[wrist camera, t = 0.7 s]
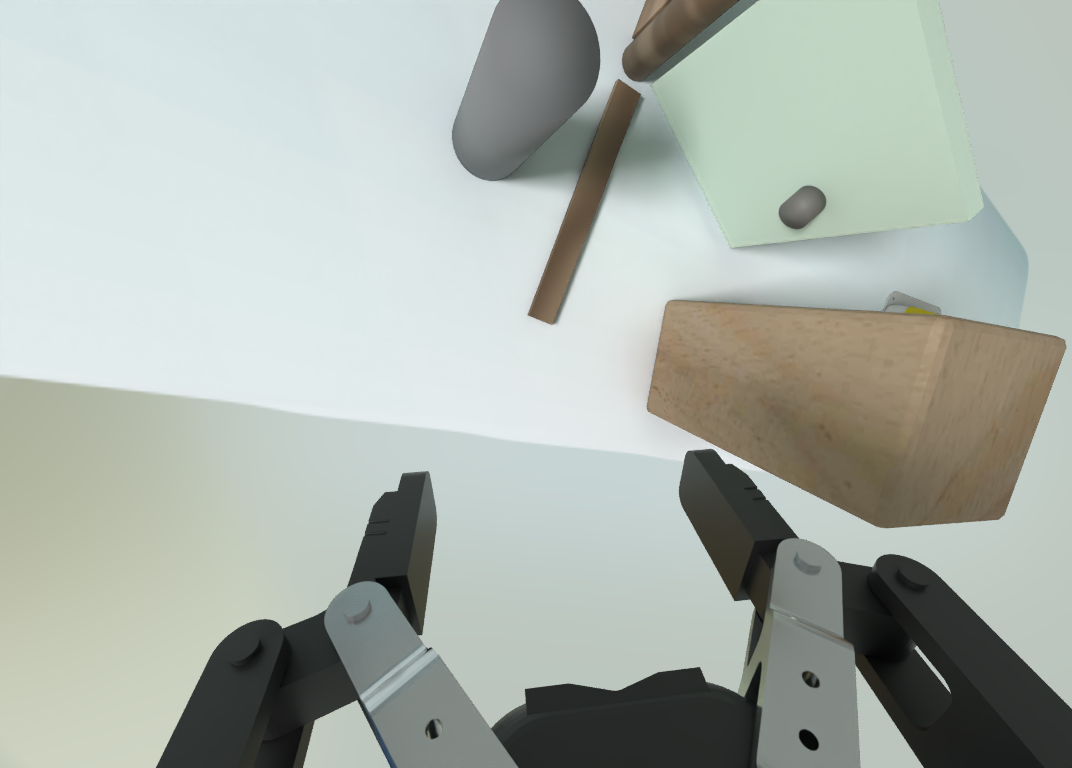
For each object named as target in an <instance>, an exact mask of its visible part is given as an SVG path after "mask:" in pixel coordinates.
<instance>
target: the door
mask: <svg viewBox="0 0 1072 768" xmlns="http://www.w3.org/2000/svg"><path fill="white" fill-rule="evenodd" d="M650 86H651V88H652V90H653V92H654V94H655V96H656V98H657V100H658V102H659V104H660V106H661V108H662V110H663V112H664V114H665V116H666V118H667V120H668V122H669V124H670V126H671V128H672V130H673V133H674V135H675V137H676V139H677V141H678V143H679V145H680V147H681V149H682V151H683V153H684V155H685V157H686V159H687V161H688V163H689V165H690V167H691V169H692V171H693V173H694V175H695V177H696V179H697V181H698V183H699V185H700V187H701V189H702V191H703V193H704V196H705V198H706V200H707V202H708V204H709V206H710V208H711V210H712V212H713V214H714V216H715V218H716V220H717V222H718V224H719V226H720V228H721V230H722V232H723V234H724V236H725V238H726V240H727V242H728V244H729V246H730V248H734V247H744V246H753V245H762V244H771V243H780V242H789V241H798V240H807V239H816V238H825V237H834V236H844V235H853V234H862V233H871V232H880V231H889V230H898V229H907V228H916V227H925V226H934V225H944V224H953V223H962V222H969V221H970V220H971V219H972V218H973V217H974V216H975V215H976V214H977V213H978V212H979V211H980V210H981V209H982V208H984V204H983V199H982V195H981V190H980V186H979V181H978V177H977V172H976V168H975V163H974V159H973V154H972V150H971V145H970V141H969V136H968V131H967V127H966V122H965V118H964V113H963V108H962V104H961V100H960V95H959V91H958V86H957V81H956V77H955V73H954V68H953V63H952V59H951V54H950V49H949V45H948V41H947V36H946V31H945V27H944V22H943V18H942V14H941V9H940V4H939V0H758V1H757V2H756V3H754V4H753V5H752V6H751V7H749V8H748V9H747V10H746V11H744V12H743V13H742V14H740V15H739V16H738V17H737V18H735V19H734V20H733V21H731V22H730V23H729V24H728V25H726V26H725V27H724V28H723V29H721V30H720V31H719V32H717V33H716V34H715V35H714V36H712V37H711V38H710V39H709V40H707V41H706V42H705V43H703V44H702V45H701V46H700V47H698V48H697V49H696V50H695V51H693V52H692V53H691V54H689V55H688V56H687V57H686V58H684V59H683V60H682V61H680V62H679V63H678V64H677V65H675V66H674V67H673V68H672V69H670V70H669V71H668V72H666V73H665V74H664V75H663V76H661V77H660V78H659V79H658V80H656V81H655V82H654V83H653V84H651V85H650Z"/></svg>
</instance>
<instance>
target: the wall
mask: <svg viewBox="0 0 1072 768" xmlns="http://www.w3.org/2000/svg"><path fill="white" fill-rule="evenodd" d="M738 1H739V0H646V2H645V5H644V7H643V10H642V13H641V15H640V18H639V21H638V23H637V26H636V29H635V31H634V34H633V37H632V38H633V39H634V40H633V42H632V43H631V44H630V45H629V46H628V47H627V48H626V49H625V51H624V53H623V57H622V65H623V69H624V71H625V73H626V75H627V76H628V77H629V78H630V79H632V80H634V81H642V80H644V79H645V78H646V77H647V76H649V75H650V74H651V73H652V72H653V71H655V70H656V69H657V68H658V67H659V66H661V65H662V64H663V63H664V62H665V61H667V60H668V59H669V58H670V57H672V56H673V55H674V54H675V53H676V52H678V51H679V50H680V49H681V48H682V47H684V46H685V45H686V44H687V43H688V42H690V41H691V40H692V39H693V38H694V37H696V36H697V35H698V34H699V33H701V32H702V31H703V30H704V29H705V28H707V27H708V26H709V25H710V24H711V23H713V22H714V21H715V20H716V19H717V18H719V17H720V16H721V15H722V14H723V13H725V12H726V11H727V10H728V9H729V8H731V7H732V6H733V5H734V4H736V3H737V2H738ZM640 95H641V94H640V93H638V92H637V91H635V90H634V89H632V88H631V87H630V86H628V85H627V84H625V83H624V82H622V81H621V80H620V79H618V80H617V81H616V82H615V84H614V87H613V90H612V92H611V95H610V98H609V100H608V103H607V106H606V108H605V111H604V114H603V116H602V119H601V122H600V124H599V127H598V130H597V132H596V135H595V138H594V140H593V143H592V146H591V148H590V151H589V154H588V156H587V159H586V161H585V164H584V167H583V169H582V172H581V175H580V177H579V180H578V183H577V185H576V188H575V191H574V193H573V196H572V199H571V201H570V204H569V207H568V209H567V212H566V215H565V217H564V220H563V223H562V225H561V228H560V231H559V233H558V236H557V239H556V241H555V244H554V246H553V249H552V252H551V254H550V257H549V260H548V262H547V265H546V268H545V270H544V273H543V276H542V278H541V281H540V284H539V286H538V289H537V292H536V294H535V297H534V300H533V302H532V305H531V308H530V310H529V313H528V315H529V316H531V317H534V318H536V319H538V320H541V321H543V322H546V323H548V324H551V325H552V324H553V322H554V319H555V317H556V314H557V311H558V309H559V306H560V304H561V301H562V298H563V296H564V293H565V290H566V288H567V285H568V283H569V280H570V277H571V275H572V272H573V270H574V267H575V264H576V262H577V259H578V257H579V254H580V251H581V249H582V246H583V244H584V241H585V238H586V236H587V233H588V231H589V228H590V225H591V223H592V220H593V217H594V215H595V212H596V210H597V207H598V204H599V202H600V199H601V197H602V194H603V191H604V189H605V186H606V184H607V181H608V178H609V176H610V173H611V171H612V168H613V165H614V163H615V160H616V158H617V155H618V152H619V150H620V147H621V144H622V142H623V139H624V137H625V134H626V131H627V129H628V126H629V124H630V121H631V118H632V116H633V113H634V111H635V108H636V105H637V103H638V100H639V98H640Z"/></svg>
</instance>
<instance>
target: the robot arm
mask: <svg viewBox="0 0 1072 768" xmlns="http://www.w3.org/2000/svg"><path fill="white" fill-rule="evenodd" d="M679 497H680V501H681V505H682V507H683V509H684V511H685V512H686V514H687V516H688V518H689V520H690V521H691V523H692V525H693V527H694V529H695V530H696V532H697V534H698V536H699V538H700V539H701V541H702V543H703V545H704V547H705V549H706V550H707V552H708V554H709V556H710V557H711V559H712V561H713V563H714V565H715V567H716V568H717V570H718V572H719V573H720V576H721V577H722V579H723V581H724V583H725V584H726V586H727V588H728V590H729V592H730V594H731V595H732V597H733V599H734V601H741V600H749V599H750V600H751V601H752V603H753V605H754V607H755V609H754V611H753V615H752V620H751V627H750V633H749V639H748V645H747V651H746V657H745V663H744V669H743V675H742V679H741V683H740V687H739V690H738V694H737V693H735V692H733V691H731V690H729V689H726V688H724V687H722V686H719V685H715V684H712V683H708V682H706V681H705V678H704V676H703V673H702V671H701V669H700V667H697V668H689V669H681V670H674V671H665V672H658V673H656V674H654V675H652V676H649V677H647V678H645V679H643V680H641V681H639V682H636V683H634V684H632V685H630V686H628V687H626V688H624V689H622V690H618V691H611V690H605V689H599V688H593V687H587V686H581V685H575V684H561V685H553V686H545V687H538V688H530V689H525V696H526V704H523V705H521V706H519V707H518V708H515V709H514V710H512V711H511V712H509V713H508V714H506V715H505V716H504V717H503V718H501V719H500V720H499V721H498V722H497V723H496V724H495V725H494V726H493V727H492V728H490V727H489V725H488V724H487V723H486V721H485V720H484V718H483V717H482V715H481V714H480V713H479V711H478V710H477V708H476V707H475V706H474V704H473V703H472V701H471V700H470V698H469V697H468V696H467V694H466V693H465V692H464V690H463V689H462V687H461V686H460V684H459V683H458V681H457V680H456V679H455V678H454V676H453V674H452V673H451V672H450V670H449V669H448V667H447V666H446V664H445V663H444V662H443V660H442V659H441V657H440V656H439V655H438V654H437V653H436V651H435V650H434V649H433V648H429V649H428V648H427V647H426V646H425V645H424V644H423V643H422V641H421V639H420V638H419V637H418V635H422V632H423V625H424V618H425V610H426V603H427V595H428V588H429V580H430V573H431V565H432V558H433V550H434V543H435V535H436V526H437V515H436V506H435V501H434V495H433V489H432V484H431V479H430V474H429V472H428V471H426V472H414V473H403V474H402V477H401V480H400V484H399V488H398V491H395V492H385V493H384V494H383V495H382V496H381V498H380V499H379V500H378V501H377V502H376V503H375V505H374V506H373V509H372V512H371V515H370V518H369V524H368V525H367V528H366V531H365V536H364V537H363V540H362V543H361V546H360V549H359V552H358V556H357V559H356V562H355V565H354V568H353V571H352V574H351V577H350V581H349V584H348V586H347V588H346V589H344V590H343V591H341V592H340V593H339V594H338V595H337V596H336V597H335V598H334V599H333V600H332V601H331V603H330V605H329V606H328V608H327V609H326V610H325V611H323V612H322V613H320V614H318V615H316V616H314V617H311V618H309V619H306V620H304V621H301V622H299V623H296V624H293V625H291V626H288V627H286V628H283V629H282V627H281V626H280V625H279V624H278V623H277V622H275V621H273V620H267V619H263V620H256V621H253V622H250V623H247V624H245V625H243V626H241V627H239V628H238V629H236V630H235V631H234V632H232V633H231V634H229V635H228V636H227V637H226V638H225V639H224V640H223V641H222V642H221V643H220V644H219V645H218V646H217V648H216V649H215V650H214V652H213V653H212V655H211V657H210V659H209V661H208V663H207V665H206V667H205V669H204V671H203V673H202V675H201V677H200V679H199V681H198V683H197V685H196V687H195V689H194V691H193V693H192V696H191V697H190V700H189V701H188V704H187V706H186V708H185V710H184V712H183V714H182V716H181V718H180V720H179V722H178V724H177V726H176V728H175V730H174V732H173V734H172V736H171V738H170V740H169V742H168V744H167V747H166V748H165V750H164V752H163V755H162V757H161V759H160V761H159V763H158V765H157V767H156V768H303V765H304V761H305V757H306V753H307V749H308V745H309V741H310V737H311V733H312V729H313V725H314V721H315V720H316V719H318V718H320V717H322V716H325V715H327V714H329V713H331V712H333V711H335V710H337V709H339V708H341V707H343V706H345V705H347V704H350V703H351V702H354V701H356V700H357V701H358V703H359V705H360V707H361V709H362V711H363V713H364V715H365V717H366V719H367V721H368V723H369V725H370V727H371V729H372V731H373V733H374V735H375V737H376V739H377V741H378V743H379V745H380V747H381V749H382V751H383V753H384V755H385V757H386V759H387V761H388V763H389V765H390V768H860V751H859V730H858V711H857V691H856V673H855V672H856V671H855V665H856V666H857V668H858V669H859V671H860V672H861V674H862V675H863V677H864V678H865V680H866V681H867V683H868V684H869V686H870V687H871V689H872V690H873V692H874V693H875V695H876V696H877V698H878V699H879V701H880V702H881V704H882V705H883V707H884V708H885V710H886V711H887V713H888V714H889V716H890V717H891V719H892V720H893V722H894V723H895V725H896V726H897V728H898V729H899V731H900V732H901V734H902V735H903V737H904V738H905V739H906V741H907V743H908V744H909V746H910V747H911V749H912V750H913V752H914V753H915V755H916V756H917V758H918V759H919V761H920V762H921V764H922V765H923V767H924V768H1072V709H1071V708H1070V707H1069V706H1068V705H1067V704H1066V703H1065V702H1064V701H1063V700H1062V699H1061V698H1060V697H1059V696H1058V695H1057V694H1056V693H1055V692H1054V691H1053V690H1052V689H1051V688H1050V687H1049V686H1048V685H1047V684H1046V683H1045V682H1044V681H1043V680H1042V679H1041V678H1040V677H1039V676H1038V675H1037V674H1036V673H1035V672H1034V671H1033V670H1032V669H1031V668H1030V667H1029V666H1028V665H1027V664H1026V663H1025V662H1024V661H1023V660H1022V659H1021V658H1020V657H1019V656H1018V655H1017V654H1016V653H1015V652H1014V651H1013V650H1012V649H1011V648H1010V647H1009V646H1008V645H1007V644H1006V643H1005V642H1004V641H1003V640H1002V639H1001V638H1000V637H999V636H998V635H997V634H996V633H995V632H994V631H993V630H992V629H991V628H990V627H989V626H988V625H987V624H986V623H985V622H984V621H983V620H982V619H981V618H980V617H979V616H978V615H977V614H976V613H975V612H974V611H973V610H972V609H971V608H970V607H969V606H968V605H967V604H966V603H965V602H964V601H963V600H962V599H961V598H960V597H959V596H958V595H957V594H956V593H955V592H954V591H953V590H952V589H951V588H950V587H949V586H948V585H947V584H946V583H945V582H944V581H943V580H942V579H941V578H940V577H939V576H938V575H937V574H936V573H935V572H933V571H932V570H931V569H929V568H928V567H926V566H925V565H923V564H921V563H919V562H917V561H915V560H913V559H910V558H907V557H904V556H900V555H894V554H888V555H883V556H881V557H879V558H878V559H877V561H876V563H875V564H874V566H873V567H868V566H862V565H856V564H850V563H844V562H839V561H837V560H836V559H835V558H834V557H833V556H832V555H831V554H830V553H829V552H828V551H826V550H825V549H824V548H822V547H821V546H819V545H817V544H815V543H812V542H810V541H807V540H803V539H799V538H798V537H797V535H796V534H795V533H794V532H793V530H792V529H791V528H790V527H789V526H788V524H787V523H786V522H785V521H784V519H783V518H782V517H781V516H780V514H779V513H778V512H777V511H776V510H775V508H774V507H773V506H772V505H771V503H770V502H769V501H768V500H766V497H765V496H764V495H763V494H762V492H761V491H760V490H758V489H757V486H756V485H755V484H754V482H753V481H752V480H751V479H750V478H749V476H748V475H747V474H745V473H744V472H743V471H741V470H740V469H738V468H737V467H735V466H734V465H733V464H725V463H724V461H723V460H722V459H721V458H720V456H719V455H718V454H717V452H716V451H715V450H713V449H706V450H693V451H688V452H687V453H686V455H685V460H684V466H683V470H682V476H681V481H680V486H679ZM916 646H918V647H919V649H920V650H921V651H922V652H923V654H924V655H925V656H926V657H927V658H928V660H929V661H930V662H931V663H932V665H933V666H934V667H935V668H936V669H937V671H938V672H939V673H940V674H941V676H942V677H943V678H944V680H945V681H946V683H947V685H948V687H949V689H950V692H951V694H950V692H949V691H948V690H947V689H946V687H945V686H944V685H943V684H942V683H941V681H940V680H939V679H938V677H937V676H936V675H935V674H934V672H933V671H932V670H931V669H930V668H929V666H928V665H927V664H926V662H925V661H924V660H923V659H922V657H920V655H919V654H918V653H917V651H916V650H915V649H914V648H915V647H916Z"/></svg>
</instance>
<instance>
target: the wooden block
mask: <svg viewBox="0 0 1072 768" xmlns="http://www.w3.org/2000/svg"><path fill="white" fill-rule="evenodd" d="M1065 350H1066V344H1065V340H1064V339H1061V338H1059V337H1057V336H1052V335H1047V334H1041V333H1036V332H1031V331H1026V330H1020V329H1015V328H1010V327H1004V326H999V325H994V324H988V323H983V322H978V321H972V320H967V319H962V318H956V317H951V316H945V315H933V314H915V313H897V312H879V311H861V310H843V309H825V308H808V307H790V306H772V305H754V304H736V303H718V302H700V301H682V300H671V301H668V302H667V304H666V306H665V312H664V317H663V323H662V328H661V333H660V339H659V344H658V349H657V355H656V360H655V366H654V371H653V376H652V382H651V387H650V392H649V398H648V403H647V410H648V412H650V413H652V414H654V415H656V416H658V417H660V418H662V419H664V420H666V421H668V422H670V423H672V424H674V425H676V426H678V427H680V428H682V429H684V430H686V431H688V432H690V433H692V434H694V435H696V436H698V437H700V438H702V439H704V440H706V441H708V442H710V443H712V444H714V445H715V446H717V447H719V448H721V449H723V450H725V451H727V452H729V453H731V454H733V455H735V456H737V457H739V458H741V459H743V460H745V461H747V462H749V463H751V464H753V465H755V466H757V467H759V468H761V469H763V470H765V471H767V472H769V473H771V474H773V475H775V476H777V477H779V478H781V479H783V480H785V481H787V482H789V483H791V484H793V485H795V486H797V487H799V488H801V489H803V490H805V491H807V492H809V493H811V494H813V495H815V496H817V497H819V498H821V499H823V500H825V501H827V502H829V503H831V504H833V505H835V506H837V507H839V508H841V509H843V510H845V511H847V512H849V513H851V514H853V515H855V516H857V517H859V518H861V519H863V520H865V521H867V522H869V523H870V524H873V525H874V526H877V527H881V528H895V527H908V526H921V525H935V524H948V523H961V522H974V521H987V520H998V519H1000V518H1001V517H1002V516H1003V515H1004V514H1005V512H1006V509H1007V506H1008V504H1009V501H1010V498H1011V496H1012V493H1013V490H1014V487H1015V485H1016V482H1017V479H1018V476H1019V474H1020V471H1021V468H1022V466H1023V463H1024V460H1025V458H1026V455H1027V452H1028V449H1029V447H1030V444H1031V441H1032V439H1033V436H1034V433H1035V431H1036V428H1037V425H1038V423H1039V420H1040V417H1041V414H1042V412H1043V409H1044V406H1045V404H1046V401H1047V398H1048V396H1049V393H1050V390H1051V387H1052V385H1053V382H1054V379H1055V377H1056V374H1057V371H1058V369H1059V366H1060V363H1061V360H1062V358H1063V355H1064V352H1065Z"/></svg>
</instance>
